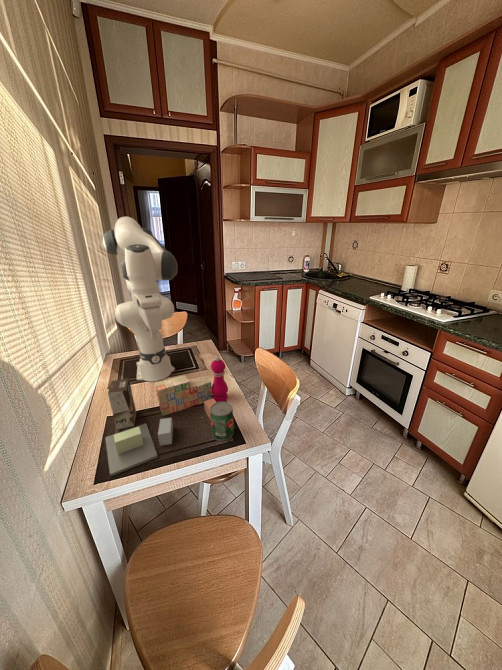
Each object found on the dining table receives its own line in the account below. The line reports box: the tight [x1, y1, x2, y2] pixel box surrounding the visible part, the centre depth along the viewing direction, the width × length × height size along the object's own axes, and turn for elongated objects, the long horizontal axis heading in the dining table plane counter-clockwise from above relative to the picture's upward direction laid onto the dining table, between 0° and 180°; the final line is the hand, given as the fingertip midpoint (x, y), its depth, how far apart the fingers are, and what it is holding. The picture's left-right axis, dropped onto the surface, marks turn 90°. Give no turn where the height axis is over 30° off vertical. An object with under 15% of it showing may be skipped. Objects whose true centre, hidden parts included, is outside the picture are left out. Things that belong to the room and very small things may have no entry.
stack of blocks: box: [154, 374, 213, 416], centre depth 113 cm, size 21×6×12 cm, turn 117°
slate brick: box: [157, 417, 174, 446], centre depth 97 cm, size 4×8×5 cm, turn 12°
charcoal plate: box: [104, 423, 159, 477], centre depth 92 cm, size 18×14×1 cm
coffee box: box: [107, 377, 137, 430], centre depth 103 cm, size 9×6×16 cm
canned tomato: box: [210, 401, 235, 442], centre depth 97 cm, size 8×8×11 cm
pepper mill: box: [210, 356, 229, 402], centre depth 115 cm, size 7×7×20 cm
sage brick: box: [114, 426, 144, 454], centre depth 91 cm, size 4×8×5 cm, turn 120°
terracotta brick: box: [203, 397, 217, 420], centre depth 107 cm, size 4×8×5 cm, turn 31°
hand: (151, 334), depth 96 cm, fingers open, 8 cm apart
